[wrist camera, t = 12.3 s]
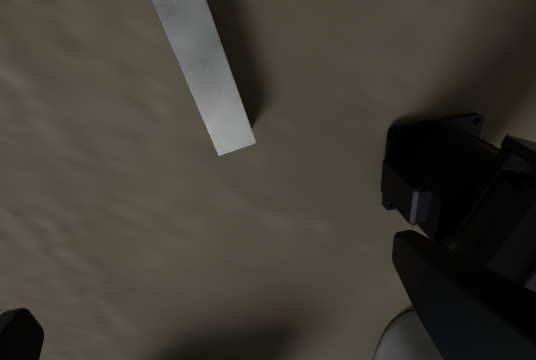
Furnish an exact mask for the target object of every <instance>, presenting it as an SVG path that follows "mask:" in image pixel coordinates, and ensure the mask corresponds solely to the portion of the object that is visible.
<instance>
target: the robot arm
mask: <svg viewBox="0 0 536 360" xmlns="http://www.w3.org/2000/svg"><path fill="white" fill-rule="evenodd" d="M475 119H476V120H475ZM474 120H475V121H474ZM483 120H484V117H483V116H482V115H481V114H479V113H476V112H473V113H468V114H462V115H456V116H451V117H445V118H439V119H433V120H428V121H422V122H416V123H411V124H405V125H399V126H394V127H392V128H391V129H389V131H388V133H387V142H386V155H385V159H384V160H383V166H382V180H381V192H382V193H383V195H382V205H383V206H384V208H385V209H386V210H393V209H397V210H398V211H399V212H400V214H401V215H402V216H403V217H404V218H405V219H406V221H407V222H408V223H410V224H411V225H412V226H413V225H418V226H419V227H420V228H421V229H422V231H423V232H424V233H425V234H426V235H427V236H428V237H429V238H430V239H429V238H427V237H426V236H424V235H422V234H420V233H418V232H416V231H413V230H405V231H400V232H397V233H396V234H395V235H394V241H393V250H392V261H393V264H394V267H395V269H396V271H397V273H398V275H399V277H400V279H401V282H402V284H403V286H404V288H405V290H406V292H407V294H408V296H409V299H410V301H411V303H412V305H413V307H414V309H415V311H416V313H417V315H418V317H419V319H420V321H421V323H422V325H423V326H424V328H425V330H426V332H427V333H428V335H429V337H430V338H431V340H432V341H433V343H434V345H435V346H436V348H437V350H438V351H439V353H440V355H441V356H442V358H443V360H536V143H535V142H531V141H528V140H524V139H521V138H517V137H513V136H510V135H506V136H505V138H504V139H503V141H502V142H501V144H500V145H502V146H501V148H500V149H499V148H497V147H495V146H493V145H492V144H490V143H488V142H486V141H484V140H482V139H480V133H481V129H482V125H483ZM473 121H474V122H473ZM396 132H398V134H397V136H395V137H394V134H395V133H396ZM389 202H391V203H390V204H388V203H389ZM43 341H44V331H43V328H42V327H41V325H40V324H39V323H38V321H37V320H36V319H35V317H34V316H33V315H32V314H31V312H30V311H29V310H28V309H26V308H19V309H14V310H9V311H6V312H4V313H2V314H1V315H0V360H39V358H40V353H41V349H42V345H43Z"/></svg>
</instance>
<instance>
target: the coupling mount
mask: <svg viewBox="0 0 536 360" xmlns="http://www.w3.org/2000/svg"><path fill="white" fill-rule="evenodd" d="M152 1H153V4H154V6H155V8H156V11H157V13H158V15H159V18H160V20H161V22H162V25H163V27H164V29H165V32H166V34H167V36H168V39H169V41H170V43H171V46H172V48H173V50H174V53H175V55H176V57H177V60H178V62H179V64H180V67H181V69H182V71H183V74H184V76H185V78H186V81H187V83H188V85H189V88H190V90H191V92H192V95H193V97H194V99H195V102H196V104H197V106H198V109H199V111H200V113H201V116H202V118H203V120H204V123H205V125H206V127H207V130H208V132H209V134H210V137H211V139H212V141H213V143H214V146H215V148H216V150H217V153H218V155H219V156H220V155H223V154H226V153H229V152H232V151H234V150H237V149H240V148H243V147H246V146H249V145H252V144H255V143H256V141H255V138H254V135H253V131H252V128H251V125H250V122H249V120H248V117H247V114H246V111H245V108H244V105H243V102H242V100H241V97H240V94H239V91H238V88H237V85H236V82H235V80H234V77H233V74H232V71H231V68H230V65H229V62H228V60H227V57H226V54H225V51H224V48H223V45H222V42H221V40H220V37H219V34H218V31H217V28H216V25H215V23H214V20H213V17H212V14H211V11H210V8H209V5H208V3H207V0H152Z"/></svg>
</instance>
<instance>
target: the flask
mask: <svg viewBox="0 0 536 360" xmlns="http://www.w3.org/2000/svg"><path fill="white" fill-rule="evenodd" d="M374 360H443V358H442V356H441V355H440V353H439V351H438V350H437V348H436V346H435V345H434V343H433V341H432V340H431V338H430V337H429V335H428V333H427V332H426V330H425V328H424V326H423V325H422V323H421V321H420V319H419V317H418V315H417V313H416V311H411V312H407V313H404V314H402V315H401V316H399V317H397V318H396V319H395V320H394V321H393V322H392V323H391V324H390V325H389V327H388V328H387V329H386V331H385V333H384V335H383V337H382V339H381V341H380V343H379V345H378V348H377V350H376V353H375V356H374Z"/></svg>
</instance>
